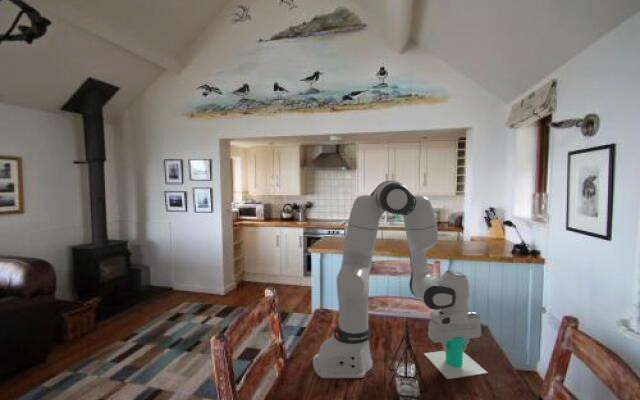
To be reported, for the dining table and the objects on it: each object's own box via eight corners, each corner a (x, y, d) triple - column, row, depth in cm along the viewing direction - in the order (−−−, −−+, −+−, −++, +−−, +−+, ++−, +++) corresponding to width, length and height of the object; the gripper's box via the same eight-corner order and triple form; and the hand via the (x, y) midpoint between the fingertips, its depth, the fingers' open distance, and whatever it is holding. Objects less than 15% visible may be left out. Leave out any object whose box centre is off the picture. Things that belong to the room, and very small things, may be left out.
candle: (464, 367, 115) (465, 336, 114) (447, 366, 116) (447, 334, 116) (460, 358, 121) (461, 328, 120) (444, 357, 122) (444, 327, 121)
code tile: (447, 379, 109) (447, 378, 109) (423, 354, 125) (423, 353, 125) (487, 373, 113) (487, 372, 112) (459, 349, 128) (459, 348, 128)
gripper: (474, 308, 123) (473, 342, 124) (426, 313, 119) (425, 348, 120) (485, 315, 116) (484, 351, 117) (435, 320, 112) (434, 357, 113)
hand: (454, 350), depth 118 cm, fingers closed on candle, 6 cm apart
